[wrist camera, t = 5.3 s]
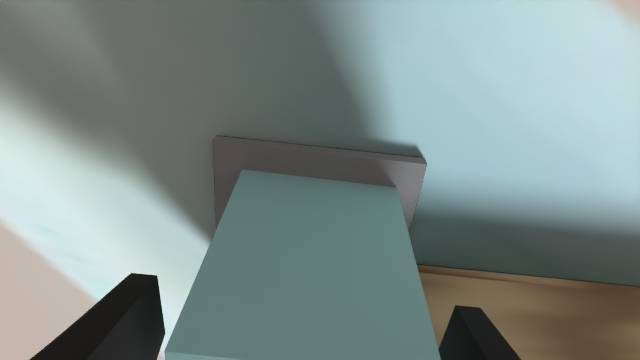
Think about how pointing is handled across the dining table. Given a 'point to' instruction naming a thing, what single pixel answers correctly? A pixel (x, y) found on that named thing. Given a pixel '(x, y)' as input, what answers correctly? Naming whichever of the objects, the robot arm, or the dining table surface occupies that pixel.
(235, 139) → the coaster
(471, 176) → the dining table surface
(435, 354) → the block
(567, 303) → the crate
